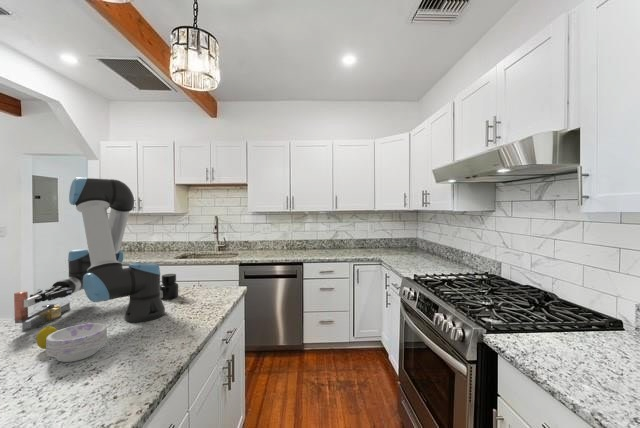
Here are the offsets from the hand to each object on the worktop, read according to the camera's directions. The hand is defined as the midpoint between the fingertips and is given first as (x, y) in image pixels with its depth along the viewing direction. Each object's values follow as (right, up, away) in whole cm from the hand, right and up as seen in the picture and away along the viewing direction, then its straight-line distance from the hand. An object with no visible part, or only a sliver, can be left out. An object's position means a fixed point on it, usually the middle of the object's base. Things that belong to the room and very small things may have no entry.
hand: (25, 303), depth 113 cm
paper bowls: (+32, -12, -16) cm, 38 cm away
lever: (-5, -7, +9) cm, 12 cm away
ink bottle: (+31, -11, +46) cm, 56 cm away
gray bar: (-7, -11, +17) cm, 21 cm away
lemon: (+19, -12, -12) cm, 26 cm away
